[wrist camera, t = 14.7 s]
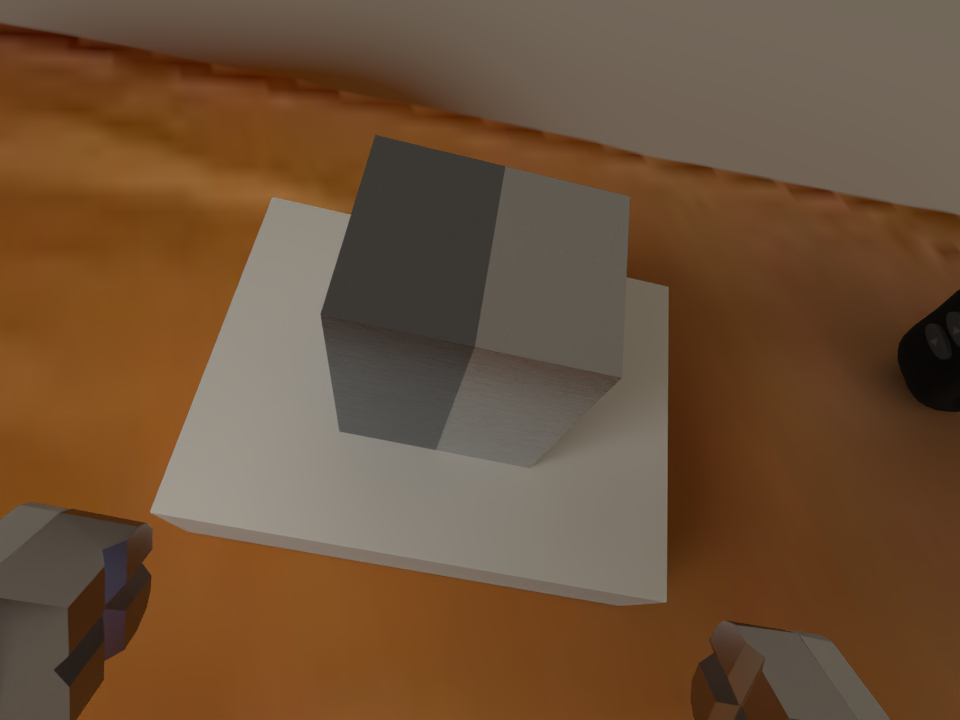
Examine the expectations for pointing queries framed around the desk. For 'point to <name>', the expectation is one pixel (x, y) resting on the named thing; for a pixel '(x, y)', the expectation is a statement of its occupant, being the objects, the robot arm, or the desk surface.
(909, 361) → the controller
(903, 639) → the desk surface
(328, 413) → the stand
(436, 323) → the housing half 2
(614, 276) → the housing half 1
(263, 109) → the desk surface
